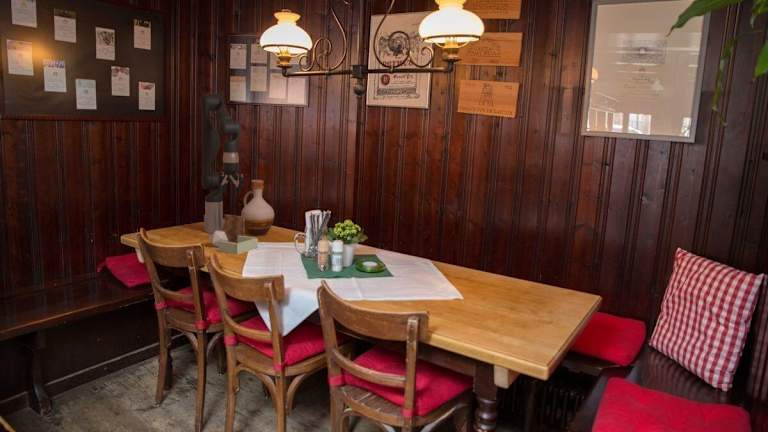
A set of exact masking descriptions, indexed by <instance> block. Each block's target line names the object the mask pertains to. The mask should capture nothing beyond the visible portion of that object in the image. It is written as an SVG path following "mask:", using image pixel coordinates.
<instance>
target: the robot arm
mask: <svg viewBox="0 0 768 432" xmlns="http://www.w3.org/2000/svg"><path fill="white" fill-rule="evenodd" d="M199 104H200V115H201V117H200V118H201V154H202V155H201V157H202V163H201V165H202V166H201V186H202V189H203V190H214V191H213V192H212V193H210V194H207V195H205V197H204V204H205V205H204V208H205V211H204V212H205V214H203V220H204V221H203V222H204V223H203V225H204V227H203V228H204V230H203V231H204V233H205V232H206V233H208V234H213V233H214V232H215V231H216V230H217V231H224V217H223V216H224V212H223V210H224V209H223V206H224V205H223V204H224V203H223V195H224V194H226V193H227V191H228V190H227V184H228V182H231V183H233V184H234V185H235V186H236V187H235V190H236V191H235V192H236V195H240V194H241V193H242V192H241V191H242V187H243V186H245V178H244V177H245V176H244V175H245V174H244V173H239V170H240V168H239V167H240V165H239V164H240V161H239V160H240V158H239V141H240V140H239V139H240V137H241V134H242V124H241V123H240V121H237V120H234V119H233V118H232V116H231V114H229V112H228V110H227V107H226V105H225V100H224V99H223V97H222V96H221V95H220V94H218V93H202V94H201V95H200V103H199ZM209 112H215V115H214V116H215V120H216V122H217V123H218V126H219V129H218V130H219V133H220V134H221V135H222V136H232V137H231V138H230V139H227V140H224V141H223V145H222V147H223V150H222V152H223V153H222V154H223V155H222V167H223V169H222V170H223V171H218V172H217V171H212V172H211V171H210V168H211V165H212V162H213V160H214V159H215V157H216V156H217V155H218V153H219V151H220V142H221V141H220V140H221V139H220V134H219V133H218V131H217V129H216V127H215V126H214V125H213V123H212V121H211V119H210V116H209Z"/></svg>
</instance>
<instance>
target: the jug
mask: <svg viewBox="0 0 768 432" xmlns="http://www.w3.org/2000/svg"><path fill="white" fill-rule="evenodd" d="M250 181H251V189H252V190H249V191H248V192H247V193H246V194H245V195H244V196H243V197H244V198H243V208H242V210H241V214H240V216H242V217H245V231H247V232H248V234H250V236H252V237H253V236H255V237H261V236H265V235H266V234H267V233H268V232H269V231H270V229H271V228H272V225H273V223H274V220H275V211H274V209H273V207H272V206H271V205H270V204H269V203H267V201H266V200H265V199H264V198H263V190H264V183H265V180H262V179H252V180H250ZM250 194H252V195H253V196H252V199H251V200H249V202H248V203H247V199H248V198H249V196H250Z"/></svg>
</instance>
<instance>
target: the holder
mask: <svg viewBox="0 0 768 432" xmlns="http://www.w3.org/2000/svg"><path fill="white" fill-rule="evenodd" d="M258 240H259V239H258V237H253V236H251V237H250V236H246V235H245V236H240V235H239V236H238V243H233V242H225V241H218V247H217V249H218V252H219V253H226V254H227V253H228V254H233V255H240V254H244V253H246V252H249V251H253V250H255V248H256V249H258V248H259V247H258V242H259V241H258ZM252 249H253V250H252Z"/></svg>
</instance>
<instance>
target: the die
mask: <svg viewBox="0 0 768 432" xmlns="http://www.w3.org/2000/svg"><path fill="white" fill-rule="evenodd" d="M208 239H209V241H210V243H211V246H212V247H214V248H218V241H225V242H228V239H227V236H226V234H225V230H223V231H217V230H216V231H215V232H214V233H211V234H210V235H209V236H208Z"/></svg>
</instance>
